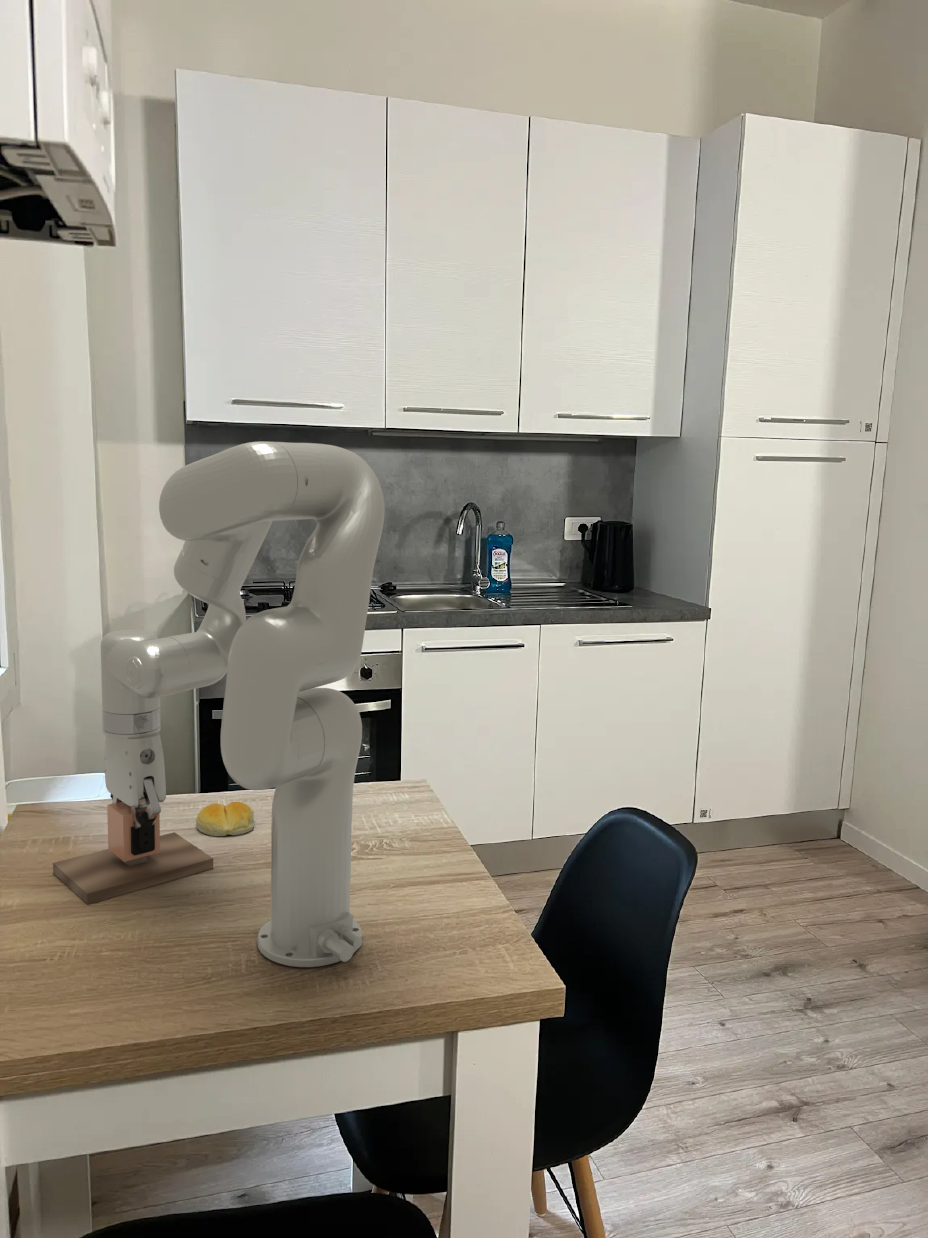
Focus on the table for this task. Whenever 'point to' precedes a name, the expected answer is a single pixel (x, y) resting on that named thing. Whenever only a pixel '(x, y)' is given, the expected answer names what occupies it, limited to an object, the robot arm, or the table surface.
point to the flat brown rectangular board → (130, 869)
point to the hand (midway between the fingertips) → (134, 844)
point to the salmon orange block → (126, 831)
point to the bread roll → (225, 819)
